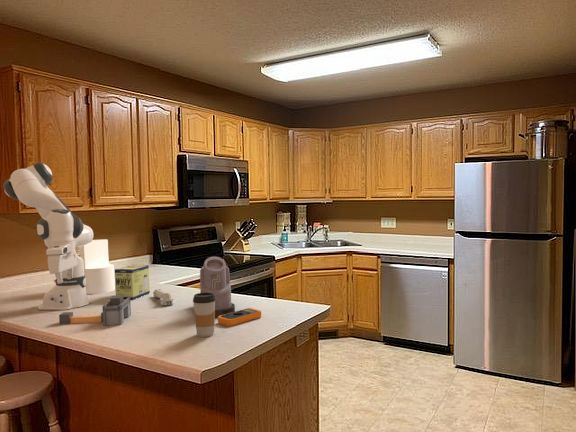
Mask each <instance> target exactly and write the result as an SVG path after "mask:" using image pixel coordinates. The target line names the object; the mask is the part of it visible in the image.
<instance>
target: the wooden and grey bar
mask: <svg viewBox="0 0 576 432" xmlns="http://www.w3.org/2000/svg"><path fill="white" fill-rule="evenodd" d="M58 319H59V320H58V322H59V325H70V324H87V323H88V324H89V323H101V324H102V323H103V311H102V312H100V314H93V315H89V314H88V315H74V312H73V311H70V312H69V311H65V312H64V311H63V312H62V313H59V315H58Z"/></svg>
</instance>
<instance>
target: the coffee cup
mask: <svg viewBox="0 0 576 432" xmlns="http://www.w3.org/2000/svg"><path fill="white" fill-rule="evenodd" d="M192 303H193V311H194V313H193V314H194V321H195V328H196V335H197V336H198V337H201V338H207V337H211V336H213V335H214V334H215V325H216V324H215V323H216V321H215V320H216V318H215V296H214V293H208V292H206V293H201V292H200V293H199V292H198V293H196V294H194V295H193V298H192Z"/></svg>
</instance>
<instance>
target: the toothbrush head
mask: <svg viewBox="0 0 576 432" xmlns="http://www.w3.org/2000/svg"><path fill="white" fill-rule="evenodd" d="M152 294H153V297H155V298H156V299H158V298H159V299H161V302H162V306H172V305H174V303H173V301H174V298H172V294H171V292H169V291H168V292H166V291H164V290H162V289H161V288H160V289H158V288H157V289H155V290H154V291H153V292H152Z"/></svg>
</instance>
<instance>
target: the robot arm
mask: <svg viewBox="0 0 576 432" xmlns="http://www.w3.org/2000/svg"><path fill="white" fill-rule="evenodd" d="M53 177H54V176H53V172H52V170H51V168H50V167H49V166H48V165H47V164H45V163H44V162H42V161H39V162H36V163H33V164H32V165H30V166H27V167H26V168H19V169H16V170H14V171H13V172H12V173H11V174H10V177H9V178H8V179H6V180H5V181H4V182H3V185H2V188H3V190H4V193H5V194H6V195H7V196H8V197H9V198H11V199H12V200H14V201H20V202H21V203H22V204H23V205H25V206H26V207H29V208H30V207H31V208H35V210H36V211H37V213H38V215H40V217H41V218H40V219H39V220H38V221H37V223H36V225H35V229H36V230H35V231H36V235H37V237H39V238H40V239H41V240H43V241H44V245H45V246H46V247H47V249H46V250H45V255H46V256H47V266H48V267H47V268H48V272H49V274H51V275H53V274H54V277H55V279H53V281H54V282H53V283H55V285H54V286H53V287H52V288H50V289H49V290H48V291H47V292H46V293H45V294H44V295H43V298H42V303H41V304H39V305H38V306H37V310H40V311H42V310H44V311H45V310H47V311H48V310H50V311H51V310H52V311H53V310H56V311H58V310H60V311H61V310H62V311H64V310H65V311H66V310H70V309H71V310H72V309H75V308H79V307H84V306H87V305H89V304H90V301H89V298H88V294H87V293H86V288H85V286H86V278H85V275H84V261H83V259H82V258H81V257H80V255H78V254H77V251H76V248H79V247H81V246H84V245H86V244H88V243H90V242H91V241H92V240H94V235H95V234H94V231H93V229H92V228H91V226H89V225H86V224H85V223H83V220H82V219H81V218H80V217H79V216H78V215H76V214H74V212H72V211H71V209H70V208H69V207H68V206H67V204H65V203H64V202H63V201H62V199H61V198H60V197H58V195H56V194H55V193H54V191H52V190H51V189H50V188H49V186H50V187H51V186H52V182H53V180H54V179H53Z"/></svg>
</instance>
